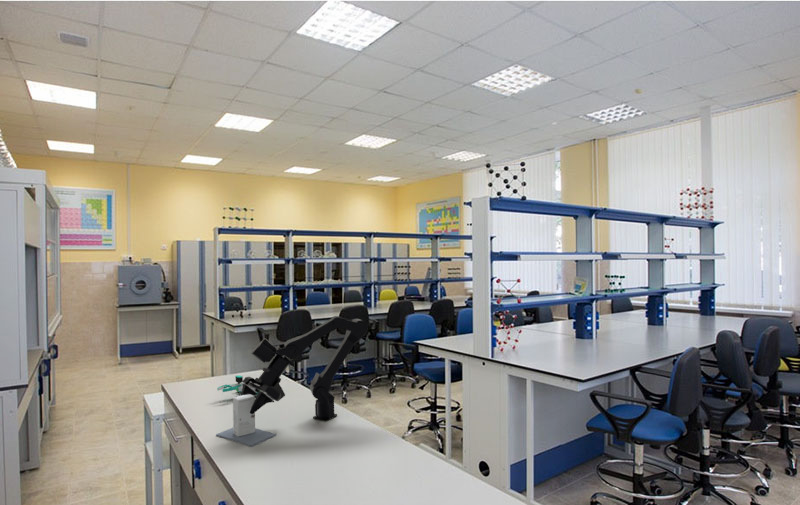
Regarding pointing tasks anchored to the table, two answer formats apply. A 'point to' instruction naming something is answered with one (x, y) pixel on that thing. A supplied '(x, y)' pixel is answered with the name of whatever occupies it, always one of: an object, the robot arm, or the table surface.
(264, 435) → the blue-gray mat
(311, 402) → the table surface
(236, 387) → the robot kit
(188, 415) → the table surface
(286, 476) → the table surface
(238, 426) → the skincare box
